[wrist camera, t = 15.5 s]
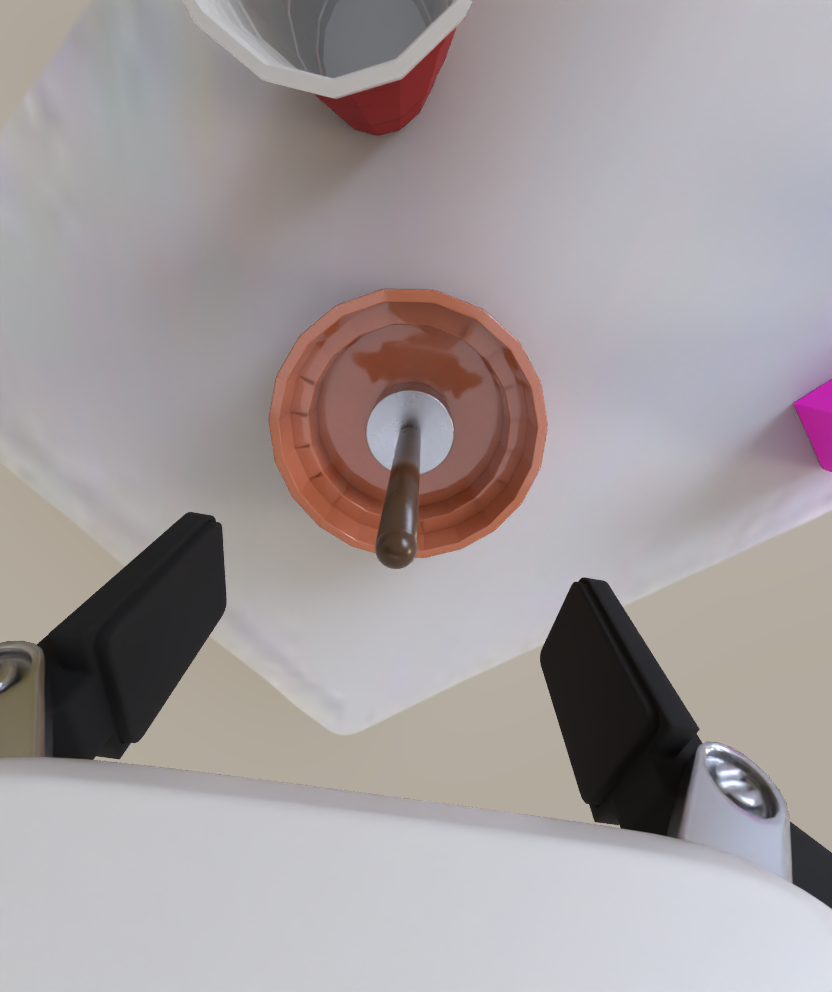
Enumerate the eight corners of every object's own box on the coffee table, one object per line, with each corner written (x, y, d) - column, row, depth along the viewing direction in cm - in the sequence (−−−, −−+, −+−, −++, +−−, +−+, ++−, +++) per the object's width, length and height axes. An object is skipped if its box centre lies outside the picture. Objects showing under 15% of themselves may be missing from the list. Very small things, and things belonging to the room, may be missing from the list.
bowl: (247, 392, 27) (211, 409, 22) (443, 231, 22) (448, 211, 18) (387, 554, 32) (380, 593, 28) (565, 450, 28) (592, 477, 23)
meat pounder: (354, 413, 26) (268, 539, 12) (421, 364, 25) (417, 441, 10) (402, 475, 28) (378, 649, 14) (466, 433, 27) (516, 579, 12)
